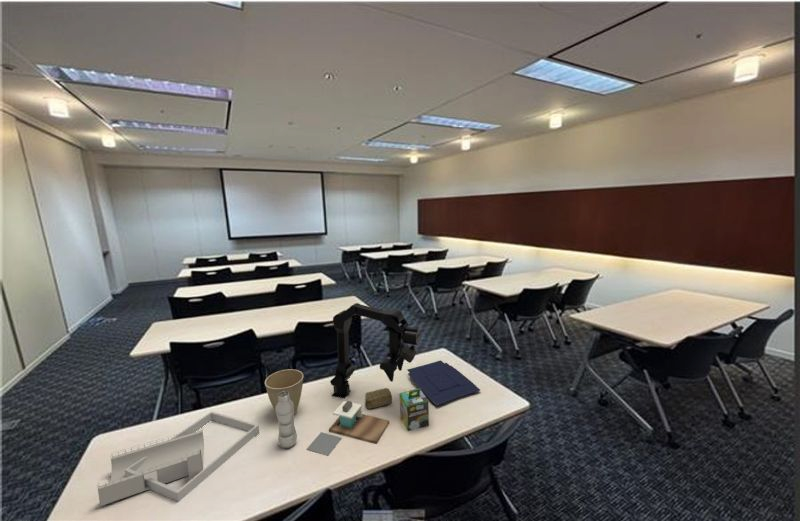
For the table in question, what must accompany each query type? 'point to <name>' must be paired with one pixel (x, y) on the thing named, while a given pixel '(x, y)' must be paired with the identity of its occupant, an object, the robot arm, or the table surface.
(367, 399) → the stone block
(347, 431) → the brown wooden board
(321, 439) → the slate mat
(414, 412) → the chalk box
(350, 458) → the table surface
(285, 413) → the plastic bottle
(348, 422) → the teal block
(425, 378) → the navy folded cloth
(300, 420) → the table surface
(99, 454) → the table surface
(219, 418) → the organizer tray
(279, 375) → the plant pot
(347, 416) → the cover
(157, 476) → the skate ramp
